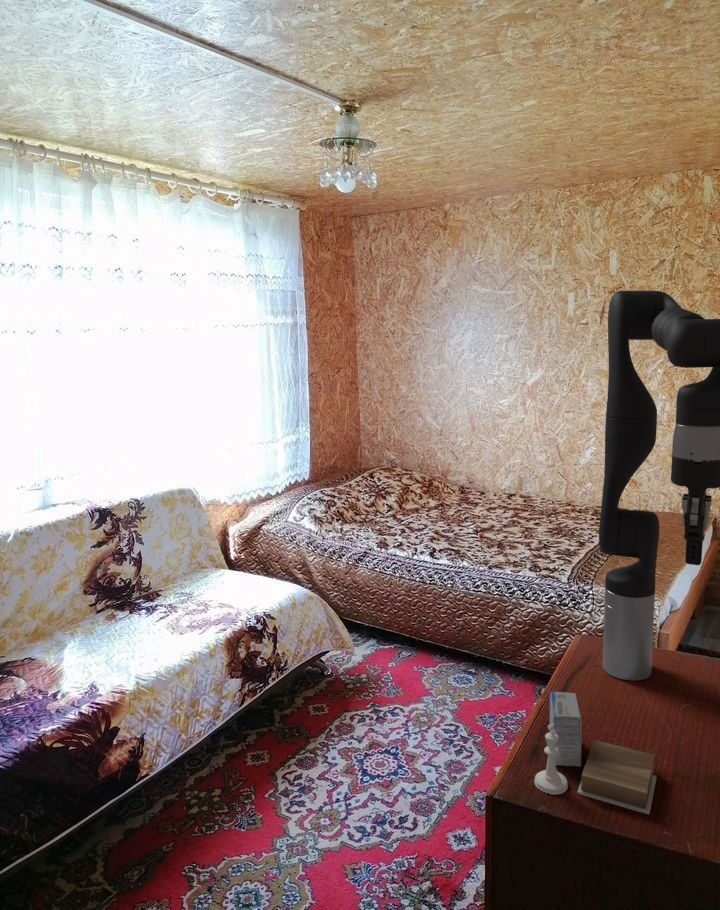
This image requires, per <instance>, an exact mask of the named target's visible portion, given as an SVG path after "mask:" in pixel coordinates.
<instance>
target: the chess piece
mask: <svg viewBox="0 0 720 910" xmlns="http://www.w3.org/2000/svg"><path fill="white" fill-rule="evenodd" d="M547 729H548V730H550V731H549V732H547V733H546V734H545V735H544V738H545V741H546V744H547V746H545V747H544V753H545V754H547V762H546V768H545V769H543V770H541V771H539V772H538V773H536V774H535V776H534V785H535V787H536V788H537V789H538V790H539V789H540V790H539V791H540V792H542V791H543V792H542V793H544V792H545V794H547V793H549V794H548V795H557V796H558V795H562V794H563V793H565V792H566V791H567V790H568V788H569V784H568V780H567V778H566V776H565V775H563V774H562V773H561V772H558V771H557V765H556V761H555V755H558V754H559V750H558V749H557V748H556V745H557V742H558V740H559V736H558V735H557V734H556V733H557V731H556V730H555V729H554V724H553V723H552V724H550V723H549V724H548V725H547Z"/></svg>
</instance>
